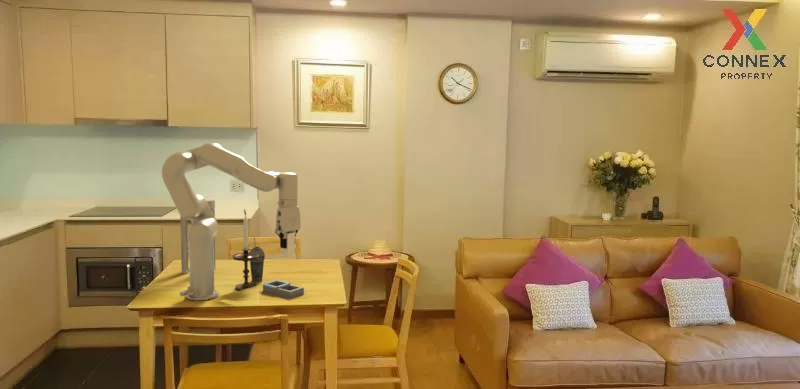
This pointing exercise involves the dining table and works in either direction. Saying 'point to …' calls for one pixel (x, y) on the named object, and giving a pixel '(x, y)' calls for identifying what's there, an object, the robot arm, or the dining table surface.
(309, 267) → the dining table surface
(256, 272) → the beverage cup
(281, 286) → the blue-grey compartment tray
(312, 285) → the dining table surface
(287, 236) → the white bottle
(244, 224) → the candlestick
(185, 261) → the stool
